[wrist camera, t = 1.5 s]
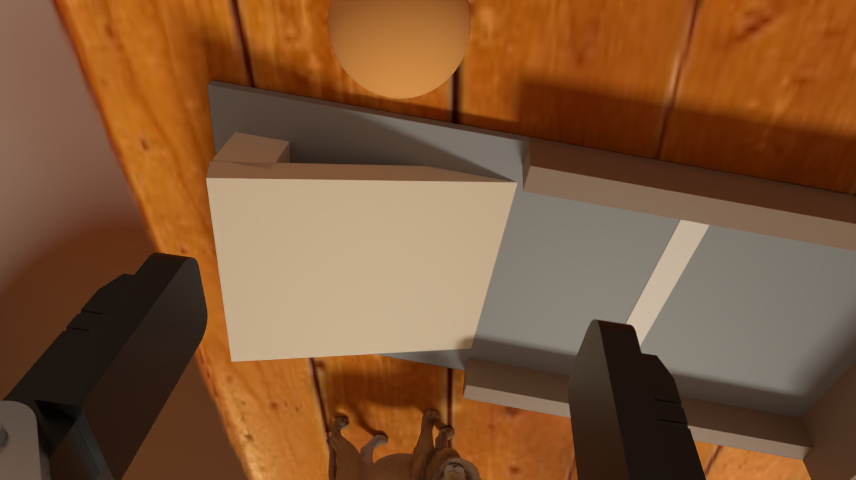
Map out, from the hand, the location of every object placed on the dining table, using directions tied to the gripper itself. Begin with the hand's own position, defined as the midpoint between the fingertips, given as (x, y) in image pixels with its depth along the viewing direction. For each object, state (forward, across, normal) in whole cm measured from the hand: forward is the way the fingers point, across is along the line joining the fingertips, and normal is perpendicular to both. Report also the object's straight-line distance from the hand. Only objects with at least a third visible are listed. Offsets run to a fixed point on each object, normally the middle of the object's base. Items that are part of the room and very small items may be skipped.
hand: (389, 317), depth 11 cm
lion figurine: (+20, 0, +32) cm, 38 cm away
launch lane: (+20, -9, +14) cm, 26 cm away
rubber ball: (+16, +2, -1) cm, 16 cm away
